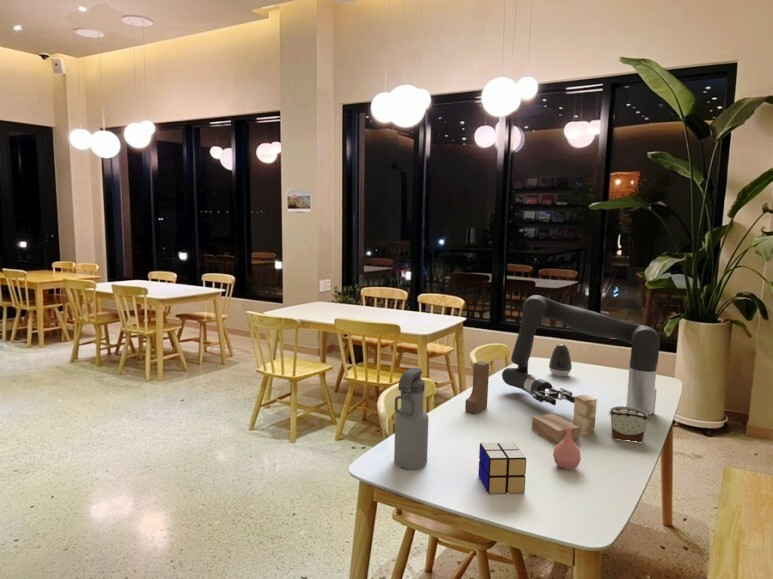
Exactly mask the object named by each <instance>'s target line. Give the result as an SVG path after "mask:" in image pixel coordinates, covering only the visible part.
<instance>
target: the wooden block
mask: <svg viewBox="0 0 773 579" xmlns="http://www.w3.org/2000/svg"><path fill="white" fill-rule="evenodd" d="M472 368H473V370H472V371H473V372H472V389H471V393H470V395H469V397H468V398H466V399H465V409H464V410H466V412H468V411H469V412H468V413H471V412H473V413H472V414H474V413H475V414H477V413H479V412H481V410H482V411H483V409H484V410H486V409H487V408H488V396H489V395H488V394H489V379H490V378H489V374H490V373H489V372H490V370H489V369H490V363H489V362H485V361H481V360H480V361H477V362H474V363H473V367H472ZM485 408H486V409H485Z"/></svg>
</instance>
